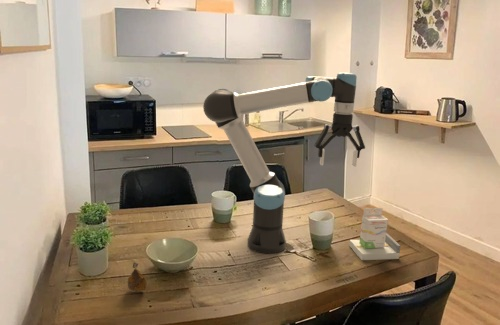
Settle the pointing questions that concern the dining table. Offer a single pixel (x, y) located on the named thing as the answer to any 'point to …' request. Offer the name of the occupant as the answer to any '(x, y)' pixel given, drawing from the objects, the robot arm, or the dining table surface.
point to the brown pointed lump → (136, 280)
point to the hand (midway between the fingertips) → (337, 165)
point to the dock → (377, 250)
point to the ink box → (373, 229)
